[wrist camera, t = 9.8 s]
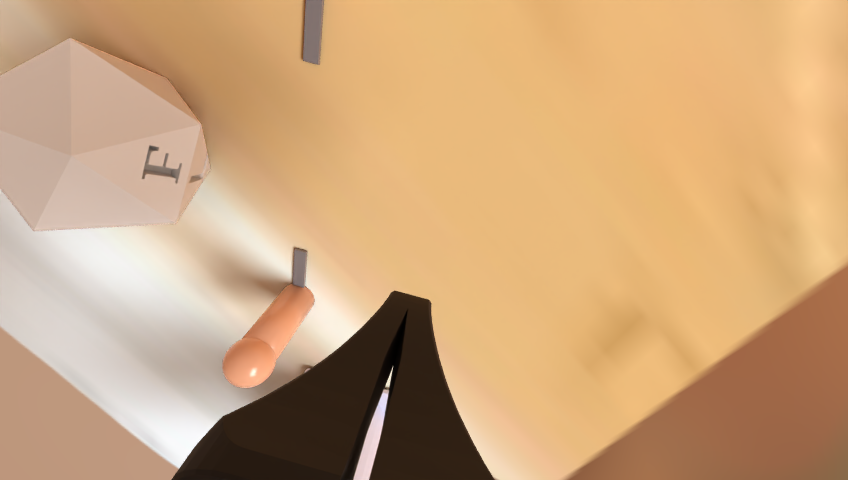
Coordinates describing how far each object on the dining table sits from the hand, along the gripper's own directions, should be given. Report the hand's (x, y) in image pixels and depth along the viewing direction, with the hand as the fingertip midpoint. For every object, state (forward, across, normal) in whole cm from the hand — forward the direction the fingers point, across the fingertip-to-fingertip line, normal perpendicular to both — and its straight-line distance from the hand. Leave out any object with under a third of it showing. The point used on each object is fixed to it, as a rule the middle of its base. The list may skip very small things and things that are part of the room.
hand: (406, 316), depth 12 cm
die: (+10, +17, 0) cm, 20 cm away
